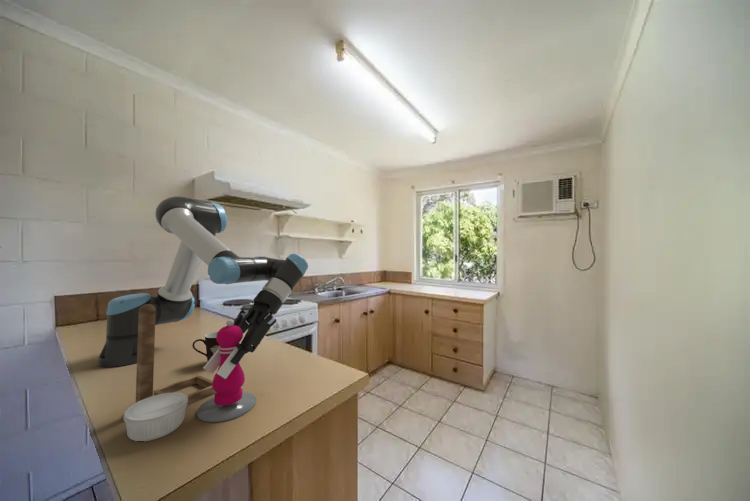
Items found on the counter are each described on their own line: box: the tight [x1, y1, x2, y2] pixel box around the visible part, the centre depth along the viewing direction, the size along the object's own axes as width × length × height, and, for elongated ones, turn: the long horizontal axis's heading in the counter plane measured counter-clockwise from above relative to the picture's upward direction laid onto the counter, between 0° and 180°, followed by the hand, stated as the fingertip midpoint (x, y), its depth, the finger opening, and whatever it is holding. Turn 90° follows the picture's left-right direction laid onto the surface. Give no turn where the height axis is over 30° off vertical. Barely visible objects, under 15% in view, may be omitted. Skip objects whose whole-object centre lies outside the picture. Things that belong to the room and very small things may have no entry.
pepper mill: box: [212, 319, 245, 405], centre depth 69 cm, size 7×7×20 cm
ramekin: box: [122, 391, 188, 442], centre depth 60 cm, size 11×11×5 cm
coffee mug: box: [191, 331, 220, 363], centre depth 97 cm, size 12×9×10 cm
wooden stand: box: [135, 304, 216, 406], centre depth 72 cm, size 18×12×26 cm, turn 150°
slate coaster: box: [196, 391, 257, 423], centre depth 68 cm, size 13×13×1 cm
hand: (214, 373), depth 65 cm, fingers closed on pepper mill, 5 cm apart
